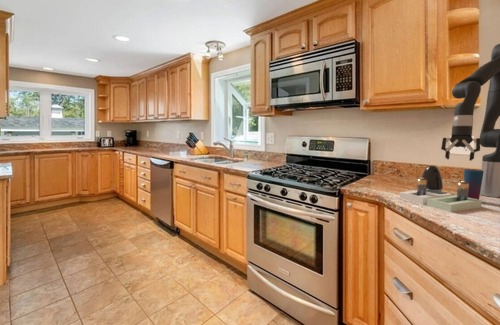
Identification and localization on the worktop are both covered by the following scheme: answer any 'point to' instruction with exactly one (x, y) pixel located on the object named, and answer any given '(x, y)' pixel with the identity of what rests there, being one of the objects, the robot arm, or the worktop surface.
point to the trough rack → (453, 203)
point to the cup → (473, 182)
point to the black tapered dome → (433, 178)
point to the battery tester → (422, 199)
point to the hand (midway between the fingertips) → (458, 159)
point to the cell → (421, 186)
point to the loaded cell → (462, 191)
